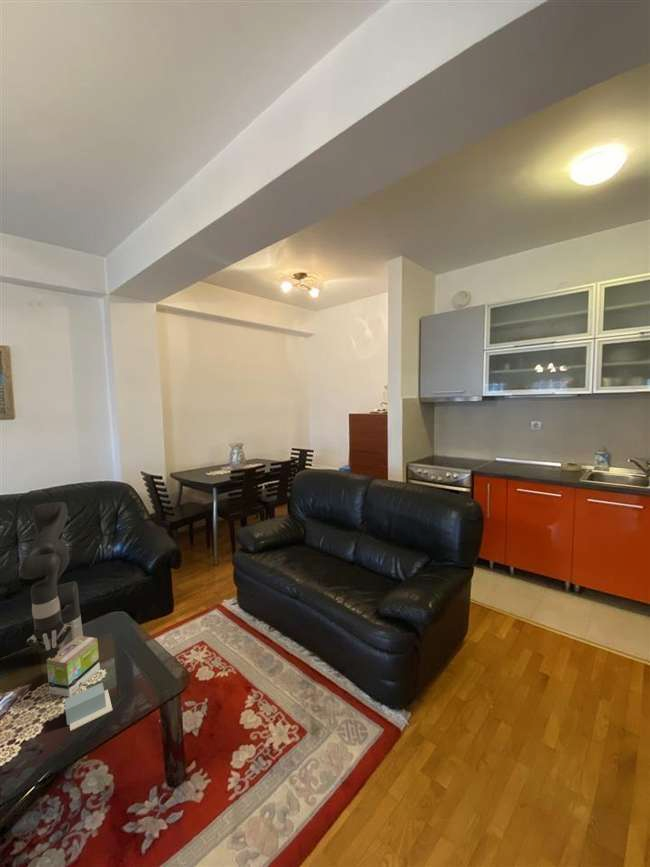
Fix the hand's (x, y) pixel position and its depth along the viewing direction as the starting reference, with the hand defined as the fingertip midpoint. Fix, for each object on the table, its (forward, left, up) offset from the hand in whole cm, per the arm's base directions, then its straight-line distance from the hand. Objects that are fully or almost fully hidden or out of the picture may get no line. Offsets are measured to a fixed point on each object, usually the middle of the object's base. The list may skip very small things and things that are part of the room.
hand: (52, 656), depth 128 cm
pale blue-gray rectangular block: (0, +2, -23) cm, 23 cm away
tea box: (-20, +6, -26) cm, 34 cm away
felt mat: (0, +9, -26) cm, 27 cm away
